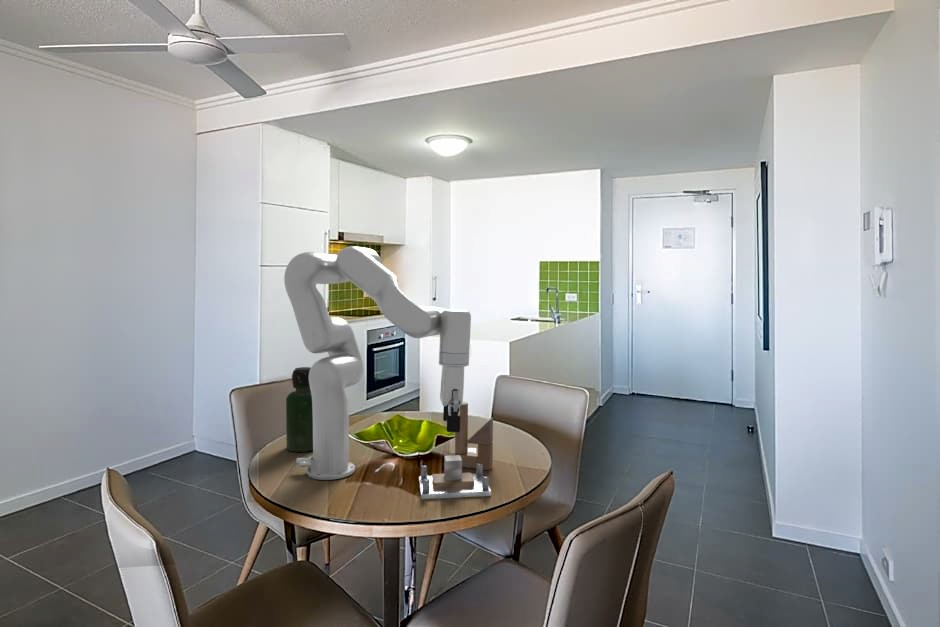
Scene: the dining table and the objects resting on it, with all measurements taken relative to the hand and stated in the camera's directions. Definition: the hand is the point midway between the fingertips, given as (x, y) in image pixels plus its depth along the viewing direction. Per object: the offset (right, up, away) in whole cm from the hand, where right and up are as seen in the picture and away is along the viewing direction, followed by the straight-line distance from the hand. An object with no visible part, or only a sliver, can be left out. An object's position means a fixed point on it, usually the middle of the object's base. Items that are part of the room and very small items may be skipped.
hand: (451, 426), depth 133 cm
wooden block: (+6, -15, +16) cm, 23 cm away
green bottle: (-47, -14, +32) cm, 59 cm away
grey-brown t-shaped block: (0, -15, +1) cm, 15 cm away
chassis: (+1, -16, +1) cm, 16 cm away
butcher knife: (+4, -15, +24) cm, 29 cm away
